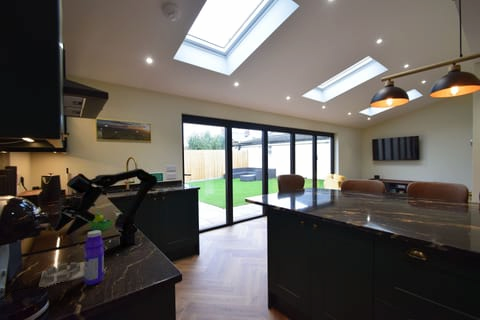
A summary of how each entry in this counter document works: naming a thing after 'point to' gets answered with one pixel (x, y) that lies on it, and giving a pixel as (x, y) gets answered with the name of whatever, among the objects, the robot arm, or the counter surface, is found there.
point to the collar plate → (62, 274)
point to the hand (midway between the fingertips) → (60, 232)
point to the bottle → (94, 258)
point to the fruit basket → (100, 223)
